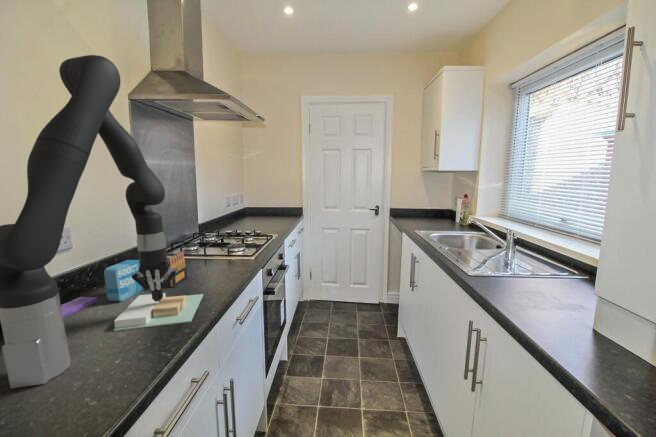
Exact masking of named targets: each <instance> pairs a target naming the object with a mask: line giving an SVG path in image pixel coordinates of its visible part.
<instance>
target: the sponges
mask: <svg viewBox="0 0 656 437" xmlns="http://www.w3.org/2000/svg"><path fill="white" fill-rule="evenodd" d="M97 302H98V297H96V296H95V297H93V296H91V297H90V296H89V297H85V296H80V297H77V298H74V299H73V300H70V301H68V302H66V303H62V304H61V310H62V316H63V318H64V317H66V316H69V315H72V314H73V313H75V312H78V311H79V310H80V311H81V310H82V309H85V308H86V307H88V306H91V305H93V304H95V303H97Z"/></svg>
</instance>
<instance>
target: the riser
mask: <svg viewBox="0 0 656 437" xmlns="http://www.w3.org/2000/svg"><path fill="white" fill-rule="evenodd" d="M163 297H167V296H166V292H163ZM158 303H159V301H156V302H155V301H154V300H153V299H152V293H150V294H140V295H137V297H136V298H135V299H134V300H133V301H132V302H131V303H130V304H129V305H128V306H127V307H126V308H125V309H124V310H123V311H122V312H121V313H120V314H119V315H118V316H117V317H116V318H115V319H114V321H113V322H114V324H113V325H114V329H115V328H120V327H129V326H137V325H146V324H147V323H148V322H149V320H150V319H151V318H152V317H153V308H154V307H155V306H156V305H157V304H158Z"/></svg>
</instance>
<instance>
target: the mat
mask: <svg viewBox="0 0 656 437" xmlns="http://www.w3.org/2000/svg"><path fill="white" fill-rule="evenodd" d="M203 296H204V293H201V294H190V295H189V294H188V295H186V304H185V305H184V307H183V308H182V310H181V312H180V313H179V315H172V316H163V317H152V318H151V319H150V320H149V322H148V323H147V324H146V325H137V326H129V327H120V328H115V327H114V329H113V332H119V331H127V330H135V329H144V328H150V327H151V328H152V327H160V326H169V325H177V324H184V323H192V320H193V318H194V316H195V313H196V311H197V310H198V307H199V305H200V303H201V301H202V299H203Z"/></svg>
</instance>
